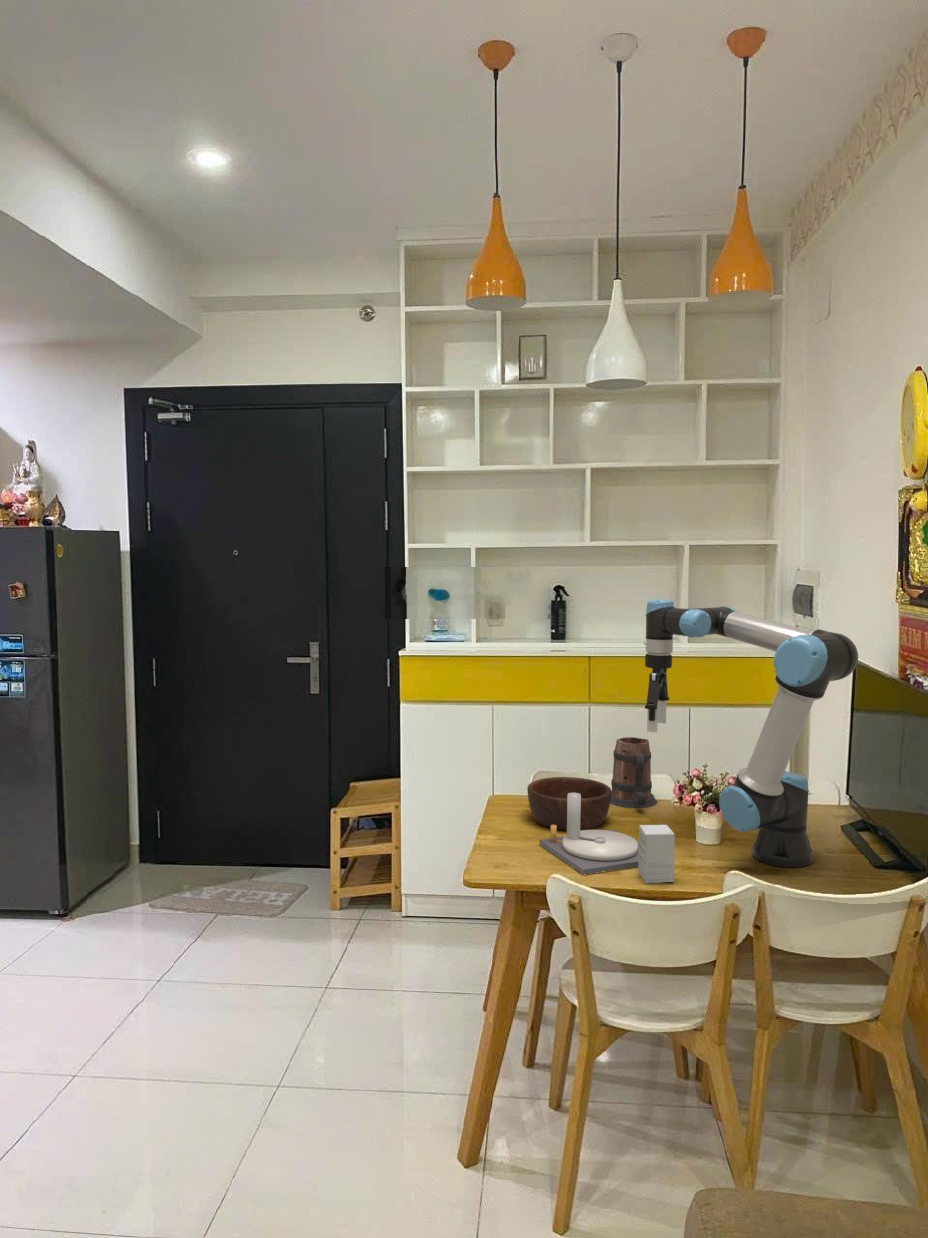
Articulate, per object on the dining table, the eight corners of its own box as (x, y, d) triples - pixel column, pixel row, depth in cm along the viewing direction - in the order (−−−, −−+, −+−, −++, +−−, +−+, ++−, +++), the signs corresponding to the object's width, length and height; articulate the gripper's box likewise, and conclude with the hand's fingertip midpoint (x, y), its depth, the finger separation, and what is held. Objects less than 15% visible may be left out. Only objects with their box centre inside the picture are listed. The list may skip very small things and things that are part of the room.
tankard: (600, 793, 295) (601, 734, 293) (650, 793, 296) (652, 734, 294) (614, 815, 272) (615, 751, 270) (668, 815, 272) (670, 751, 271)
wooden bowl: (617, 835, 253) (618, 800, 253) (530, 834, 253) (530, 799, 252) (603, 808, 278) (604, 776, 277) (523, 808, 278) (524, 776, 277)
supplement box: (666, 872, 225) (667, 824, 224) (674, 884, 217) (675, 833, 216) (637, 872, 224) (638, 824, 223) (644, 884, 217) (645, 834, 216)
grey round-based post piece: (645, 841, 242) (647, 793, 241) (626, 865, 224) (628, 813, 223) (575, 831, 251) (576, 784, 250) (552, 853, 233) (553, 803, 232)
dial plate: (663, 863, 231) (664, 840, 231) (583, 875, 222) (583, 852, 222) (614, 834, 253) (614, 814, 253) (539, 845, 244) (539, 823, 244)
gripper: (653, 648, 264) (651, 718, 266) (636, 658, 241) (634, 734, 243) (679, 649, 261) (677, 720, 263) (664, 659, 239) (662, 737, 240)
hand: (656, 727), depth 253 cm, fingers open, 13 cm apart
